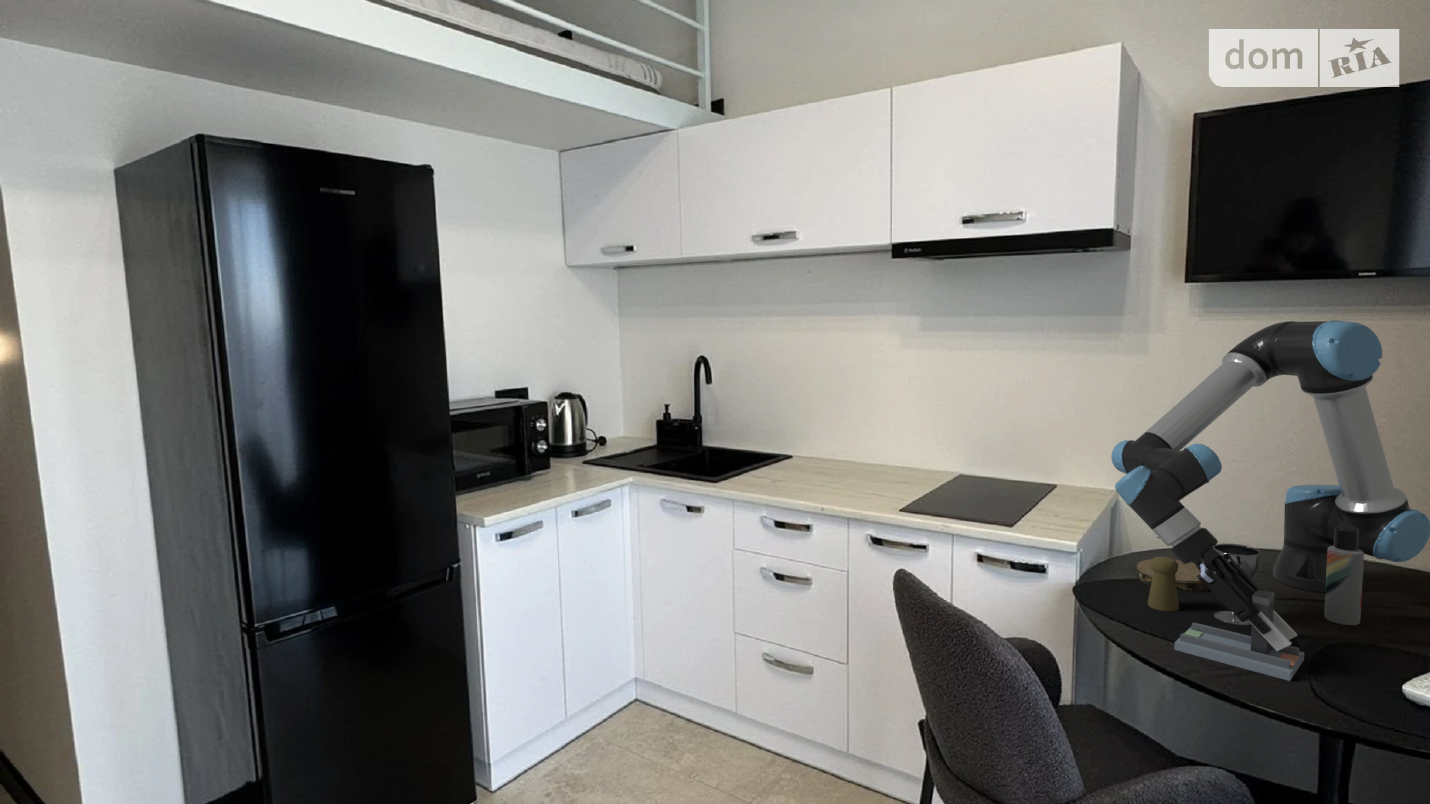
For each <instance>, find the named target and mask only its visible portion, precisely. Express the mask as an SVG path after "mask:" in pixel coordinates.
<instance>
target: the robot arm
mask: <svg viewBox="0 0 1430 804" xmlns="http://www.w3.org/2000/svg"><path fill="white" fill-rule="evenodd" d="M1380 359H1383V348H1382V344H1381V341H1380V339H1379V338H1378V335H1377V334H1376V333H1375V332H1374V331H1373V329H1371V328H1370V327H1368V326H1366V325H1364V324H1362V323H1360V322H1355V321H1344V320H1341V319H1340V320H1339V319H1338V320H1335V319H1334V320H1333V319H1332V320H1328V321H1327V320H1322V321H1319V320H1318V321H1317V320H1315V321H1311V320H1310V321H1297V320H1296V321H1294V320H1293V321H1292V320H1291V321H1289V320H1288V321H1286V320H1285V321H1282V322H1277V323H1273V324H1271V325H1269V326H1268V325H1267V326H1266V327H1264V328H1262V329H1260V330H1258V331H1256V332H1254V333H1253V334H1250V335H1249V336H1247V338H1245V339H1243V340H1242V341H1240V342H1239V343H1238V344H1236V345H1235V346H1234V347H1233V348H1232V349H1231V350H1229V351H1228V352H1227V353H1226V354H1225V355H1224V356H1223V357H1222V360H1221V361H1222V364H1220V365H1219V366H1218V367H1217V368H1215V370H1214V371H1213V372H1211V373H1210V374H1209V375H1208V376H1207V377H1206V378H1204V380H1203V381H1202V382H1200V383H1199V384H1198V385H1197V386H1196V387H1194V389H1192V390H1191V391H1190V392H1189V393H1188V394H1186V395H1185V396H1184V397H1183V398H1182V399H1180V401H1179V402H1177V403H1176V405H1174V406H1173V407H1172V408H1171V409H1169V410H1168V412H1166V413H1165V414H1164V415H1163V416H1162V417H1161V418H1160V419H1158V420H1157V421H1156V422H1155V423H1154V424H1153V425H1152V426H1150V427H1149V428H1148V429H1147V430H1146V431H1145V432H1143V434H1142V435H1140V436H1139V437H1138V438H1137V439H1136V440H1133V439H1130V440H1127V439H1126V440H1122V441H1119V442H1118V443H1117V444H1115V445H1114V447H1113V449H1112V452H1111V455H1110V456H1111V457H1110V460H1111V462H1112V465H1113V467H1114V468H1115V469H1116V470H1117V471H1119V472H1121V473H1123V474H1125V475H1124V476H1122V477H1121V478H1120V479H1119V480H1118V481H1117V482H1116V483H1115V485H1114V489H1115V491H1116V493H1118V495H1119V497H1120V498H1121V499H1122V500H1123V501H1124V502H1125V504H1126V505H1127V506H1128V507H1130V508H1131V509H1132V510H1133V511H1134V512H1135V514H1136V515H1137V516H1138V517H1139V518H1140V519H1141V520H1142V521H1143V522H1144V523H1145V524H1146V525H1147V526H1148V527H1149V528H1150V529H1151V530H1152V532H1154V534H1155V538H1157V539H1160V540H1161V541H1162V542H1163V543H1164V545H1166V546H1167V547H1171V552H1172V553H1173V554H1174V555H1175V556H1176V557H1177V558H1178V560H1180V561H1181V562H1182V563H1184V564H1187V563H1189V562H1191V563H1194V564H1195V565H1196V566H1197V568H1198V569H1199V571H1200V572H1201V574H1199V575H1198V576H1197V578H1198V579H1199V580H1200V581H1201V582H1203V583H1204V584H1205V585H1206V586H1208V588H1209V590H1210V591H1211V592H1212V593H1213V594H1214V595H1215V596H1216V597H1217V598H1218V599H1219V600H1220V601H1221V603H1223V605H1225V606H1226V608H1228V610H1230V612H1231V611H1232V612H1233V613H1234V615H1235V616H1236V617H1237V618H1238V619H1239V620H1240V621H1241V622H1244V621H1246V620H1248V621H1249V622H1250V623H1251V624H1250V625H1251V626H1252V625H1253V626H1254V627H1255V629H1256V630H1257V631H1258V632H1259V633H1260V634H1261V635H1262V636H1263V637H1264V638H1265V639H1266V640H1267V641H1268V642H1269V643H1270V644H1271V645H1272V647H1273V648H1274V649H1275V650H1276V651H1279V650H1281V649H1283V648H1285V647H1287V646H1292V641H1290V640H1292V639H1294V638H1295V637H1297V636H1298V633H1297V632H1295V630H1294V629H1293V628H1292V627H1291V626H1290V625H1289V623H1287V622H1286V621H1285V620H1284V619H1283V618H1282V617H1281V616H1280V615H1279V613H1277V611H1275V609H1274V610H1273V623H1272V622H1271V621H1270V620H1269V619H1268V618H1267V617H1266V616H1265V615H1264V614H1263V613H1262V612H1260V613H1258V611H1257V610H1256V608H1255V607H1254V606H1253V605H1252V596H1253V595H1254V594H1255V593H1256V592H1257V591H1258V590H1261V591H1263V590H1262V589H1261V588H1260V587H1259V585H1257V584H1256V583H1255V582H1254V581H1253V580H1251V579H1250V578H1249V577H1248V576H1247V575H1246V573H1245V572H1244V571H1243V570H1242V569H1241V568H1240V567H1239V566H1238V565H1237V564H1236V563H1235V562H1234V560H1233V559H1232V558H1231V556H1230V555H1229V554H1227V553H1226V554H1225V555H1223V556H1222V555H1221V554H1220V553H1218V552H1217V551H1216V550H1215V549H1214V546H1215V545H1217V544H1219V543H1218V542H1219V541H1218V539H1217V538H1216V537H1215V536H1214V535H1213V534H1212V533H1211V532H1210V531H1209V530H1208V529H1207V528H1206V527H1201V524H1202V523H1201V521H1200V520H1199V519H1198V518H1197V517H1196V516H1195V515H1194V514H1193V513H1192V512H1191V511H1190V510H1189V509H1188V508H1186V506H1185V505H1184V504H1183V503H1182V502H1181V500H1183V499H1184V498H1185V497H1188V495H1190V494H1192V493H1194V492H1195V491H1197V490H1198V489H1200V488H1201V487H1202V486H1204V485H1206V484H1209V483H1210V481H1211V480H1212V479H1214V478H1216V476H1217V475H1219V474H1220V473H1221V471H1222V467H1223V466H1222V465H1223V464H1222V462H1221V460H1220V457H1219V456H1218V454H1217V453H1216V452H1215V450H1213V449H1211V447H1209V446H1207V445H1206V444H1202V443H1193V444H1190V442H1192V441H1193V440H1194V439H1195V438H1197V436H1198V435H1200V434H1201V433H1202V432H1203V431H1205V429H1207V428H1208V427H1209V426H1210V425H1211V424H1213V423H1214V421H1216V420H1217V419H1218V418H1219V417H1220V416H1221V415H1222V414H1223V413H1225V412H1226V411H1227V410H1228V409H1229V408H1230V407H1232V406H1233V405H1234V404H1235V403H1236V402H1237V401H1238V400H1239V399H1241V398H1242V397H1243V396H1244V395H1245V394H1246V393H1247V392H1249V391H1250V390H1251V389H1252V388H1253V387H1256V388H1257V387H1261V386H1263V385H1264V384H1265V383H1267V381H1269V380H1270V379H1272V378H1275V377H1280V376H1292V377H1293V376H1295V377H1297V378H1298V383H1299V385H1300V388H1301V391H1302V392H1303V393H1305V394H1306V395H1309V396H1312V397H1313V400H1314V401H1313V402H1314V404H1315V407H1316V411H1317V414H1318V417H1319V420H1320V424H1321V427H1322V428H1321V429H1322V431H1323V434H1324V438H1325V441H1326V445H1327V448H1328V451H1329V455H1330V458H1331V462H1332V464H1333V468H1334V472H1335V475H1336V479H1337V482H1338V485H1336V484H1334V485H1333V484H1301V485H1300V484H1299V485H1294V486H1290V487H1289V488H1288V489H1287V490H1286V494H1285V501H1284V518H1283V519H1284V521H1283V522H1284V523H1283V546H1282V549H1281V550H1280V552H1279V555H1278V557H1277V560H1276V562H1275V564H1274V565H1273V569H1272V570H1273V571H1272V573H1273V574H1272V577H1273V578H1274V579H1275V580H1276V581H1278V582H1280V583H1282V584H1284V585H1287V586H1290V587H1294V588H1297V589H1301V590H1306V591H1313V592H1319V593H1325V589H1326V569H1327V551H1328V547H1330V546H1333V544H1334V529H1335V527H1337V525H1340V524H1345V525H1350V526H1353V527H1355V528H1358V529H1359V546H1358V549H1360V550H1362V551H1363V552H1364V555H1366V556H1370V557H1373V558H1376V559H1377V560H1385V561H1390V562H1392V563H1402V562H1403V563H1405V562H1407V561H1410V560H1411V559H1414V558H1415V557H1416V556H1418V555H1419V554H1420V553H1421V552H1422V551H1423V550H1424V548H1425V546H1426V544H1427V543H1428V542H1429V538H1430V519H1429V517H1428V516H1427V515H1426V514H1425V513H1423V512H1422V511H1420V510H1418V509H1412V508H1410V505H1409V501H1408V497H1407V494H1406V493H1405V492H1404V491H1403V490H1401V489H1399V488H1397V487H1395V486H1394V483H1393V479H1392V476H1391V473H1390V469H1389V465H1388V462H1387V458H1386V454H1385V452H1384V448H1383V444H1382V441H1381V437H1380V433H1379V430H1378V426H1377V422H1376V420H1375V416H1374V411H1373V409H1372V405H1371V402H1370V399H1369V394H1368V391H1367V386H1369V384H1370V383H1371V382H1372V381H1373V379H1374V376H1373V375H1374V374H1375V373H1376V372H1377V371H1378V369H1379V367H1380V366H1381V362H1380ZM1189 444H1190V445H1189ZM1187 445H1189V446H1187Z"/></svg>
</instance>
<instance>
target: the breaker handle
mask: <svg viewBox="0 0 1430 804" xmlns="http://www.w3.org/2000/svg"><path fill="white" fill-rule="evenodd" d="M1261 590H1262V589H1261ZM1261 590H1258V591H1257V592H1256V593H1255V594H1254V595H1253V596H1252V605H1253V606H1254V607H1255V608H1256V610H1257V611H1258V613H1260V612H1262V613H1263V614H1264V615H1265V616H1266V617H1267V618H1268V619H1269V620H1270V621H1271V622H1272V623H1273V610H1274V611H1275V609H1274V607H1275V606H1274V605H1275V592H1271V591H1266V590H1262V591H1261ZM1250 632H1251V633H1250V636H1251V651H1254V652H1258V653H1262V654H1266V655H1268V654H1269V653H1270V652H1271V650H1272V645H1271V644H1270V643H1269V642H1268V641H1267V640H1266V639H1265V638H1264V637H1263V636H1262V635H1261V634H1260V633H1259V632H1258V631H1257V630H1256V629H1255V627H1254V626H1253V625H1252V624H1251V631H1250Z"/></svg>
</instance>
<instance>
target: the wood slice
mask: <svg viewBox="0 0 1430 804" xmlns="http://www.w3.org/2000/svg"><path fill="white" fill-rule="evenodd" d="M1152 559H1153V558H1149V559H1143V560H1140V561H1138V563H1137V564H1136V577H1137V579H1138V580H1139V579H1140V580H1139V581H1141V582H1142V583H1144V584H1146V583H1147V584H1146V585H1149V586H1151V583H1152V577H1153V572H1154V571H1153V570H1152V569H1151V561H1152ZM1175 560H1176V562H1177V563H1178V571H1177V573H1176V574H1175V577H1176V585H1177V592H1183V593H1200V592H1206V591H1209V590H1210V589H1209V588H1208V586H1206V585H1205V584H1204V583H1203V582H1201V581H1200V580H1199V579H1198V578H1197V576H1198V575H1199V574H1201V572H1200V571H1199V569H1198V568H1197V566H1196V565H1195V564H1194V562H1192V561H1191V562H1189V563H1187V564H1184V563H1182V562H1181V561H1180V559H1175Z"/></svg>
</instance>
